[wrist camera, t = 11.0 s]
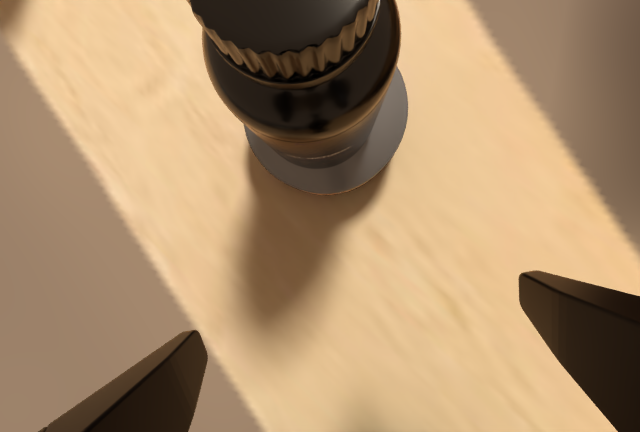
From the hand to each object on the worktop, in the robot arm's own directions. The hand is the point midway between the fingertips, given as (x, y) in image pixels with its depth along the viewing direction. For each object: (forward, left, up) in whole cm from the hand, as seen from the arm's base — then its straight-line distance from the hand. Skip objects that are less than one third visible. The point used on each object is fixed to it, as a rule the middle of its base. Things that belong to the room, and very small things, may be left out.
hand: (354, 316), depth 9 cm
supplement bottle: (+9, 0, -10) cm, 14 cm away
